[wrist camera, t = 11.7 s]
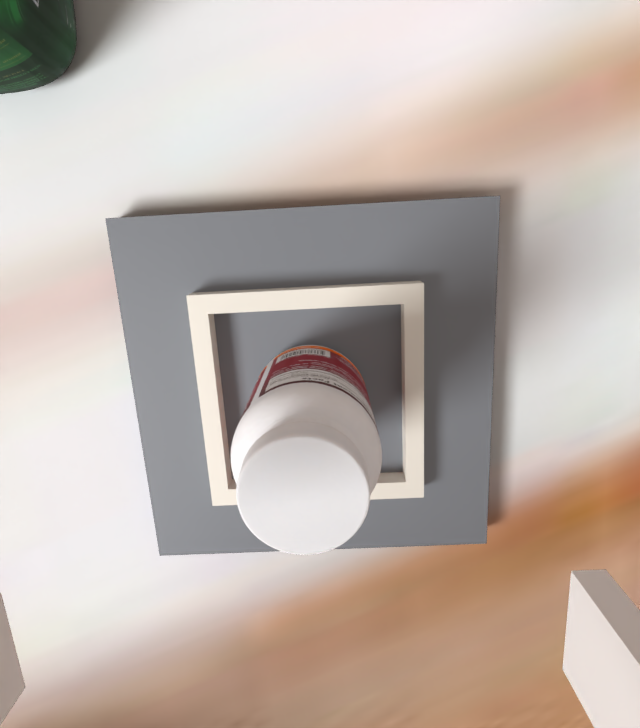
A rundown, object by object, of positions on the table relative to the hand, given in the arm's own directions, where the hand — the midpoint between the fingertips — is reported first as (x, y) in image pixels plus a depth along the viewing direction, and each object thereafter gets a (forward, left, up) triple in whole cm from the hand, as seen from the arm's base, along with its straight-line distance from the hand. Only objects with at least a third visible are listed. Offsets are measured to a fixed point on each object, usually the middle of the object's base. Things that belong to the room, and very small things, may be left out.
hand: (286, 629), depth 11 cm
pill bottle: (0, 0, -17) cm, 17 cm away
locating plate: (0, 0, -18) cm, 18 cm away
